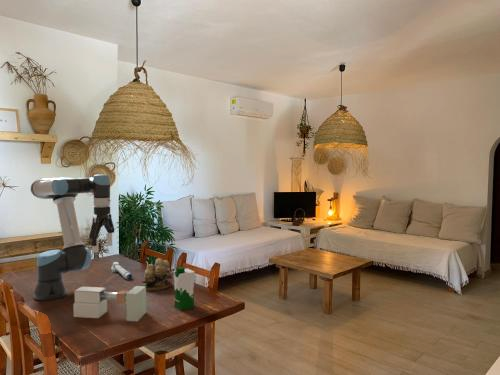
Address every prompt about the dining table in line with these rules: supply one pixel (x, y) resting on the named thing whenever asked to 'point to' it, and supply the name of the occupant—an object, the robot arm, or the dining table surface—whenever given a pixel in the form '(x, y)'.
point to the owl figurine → (157, 276)
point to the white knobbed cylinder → (121, 271)
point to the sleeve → (89, 302)
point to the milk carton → (184, 288)
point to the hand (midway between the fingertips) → (102, 248)
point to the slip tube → (114, 296)
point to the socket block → (136, 303)
